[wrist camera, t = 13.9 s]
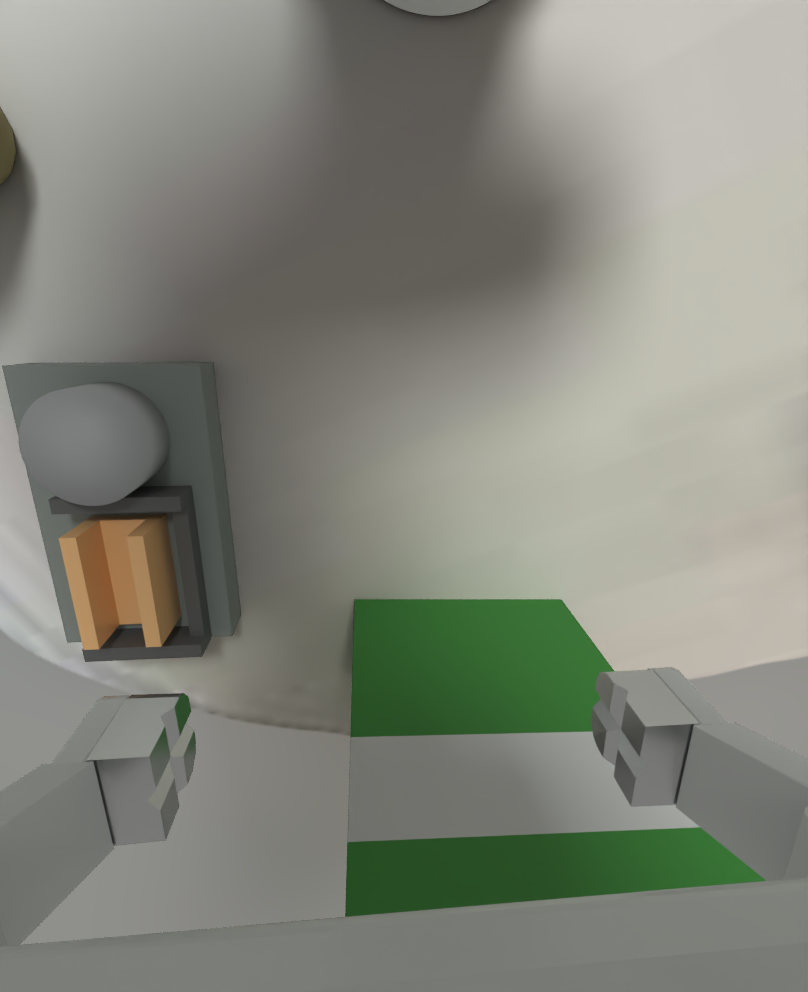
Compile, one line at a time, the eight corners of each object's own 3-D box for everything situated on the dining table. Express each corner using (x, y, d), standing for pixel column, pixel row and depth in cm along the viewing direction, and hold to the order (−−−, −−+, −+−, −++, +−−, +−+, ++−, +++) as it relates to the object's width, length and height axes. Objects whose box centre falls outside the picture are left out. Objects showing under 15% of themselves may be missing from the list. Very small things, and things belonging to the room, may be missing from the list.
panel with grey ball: (31, 362, 34) (-48, 370, 28) (213, 362, 35) (178, 369, 29) (88, 620, 41) (34, 677, 34) (241, 614, 42) (218, 668, 35)
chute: (91, 515, 35) (58, 538, 31) (166, 514, 35) (142, 536, 32) (111, 617, 37) (83, 649, 34) (181, 615, 38) (161, 646, 34)
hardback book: (561, 599, 44) (779, 893, 21) (549, 672, 46) (735, 1009, 23) (354, 599, 42) (345, 917, 19) (353, 675, 44) (343, 1039, 21)
